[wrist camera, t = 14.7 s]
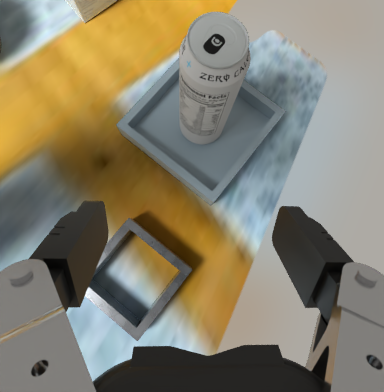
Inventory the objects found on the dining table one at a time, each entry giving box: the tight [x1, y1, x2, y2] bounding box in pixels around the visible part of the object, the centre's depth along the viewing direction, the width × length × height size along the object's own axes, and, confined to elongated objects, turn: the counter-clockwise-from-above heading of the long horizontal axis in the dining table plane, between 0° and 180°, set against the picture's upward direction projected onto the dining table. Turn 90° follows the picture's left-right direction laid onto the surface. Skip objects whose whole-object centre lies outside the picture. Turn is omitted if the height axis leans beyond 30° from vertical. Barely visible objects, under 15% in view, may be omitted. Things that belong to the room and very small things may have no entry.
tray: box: [116, 58, 286, 205], centre depth 32 cm, size 16×16×3 cm
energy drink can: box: [179, 12, 250, 144], centre depth 25 cm, size 6×6×15 cm
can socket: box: [85, 218, 192, 341], centre depth 29 cm, size 10×10×2 cm
